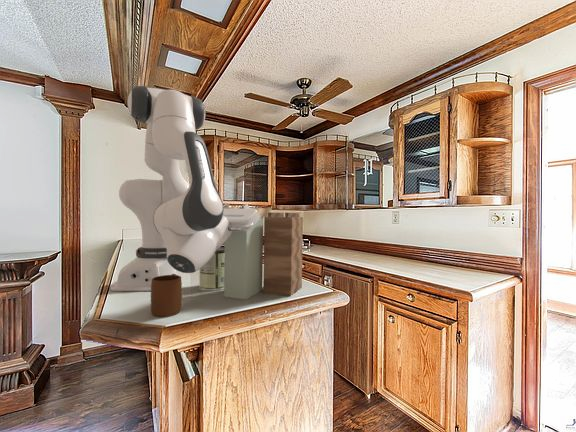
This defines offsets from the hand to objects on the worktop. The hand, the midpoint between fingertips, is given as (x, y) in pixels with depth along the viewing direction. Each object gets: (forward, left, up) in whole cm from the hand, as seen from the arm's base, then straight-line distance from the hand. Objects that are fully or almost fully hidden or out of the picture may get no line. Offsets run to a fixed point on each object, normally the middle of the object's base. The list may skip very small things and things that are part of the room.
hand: (237, 206), depth 90 cm
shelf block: (+3, +4, -29) cm, 30 cm away
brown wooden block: (+17, +5, -29) cm, 34 cm away
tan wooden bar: (+4, +4, -3) cm, 7 cm away
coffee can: (-7, +14, -30) cm, 34 cm away
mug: (-19, -8, -30) cm, 36 cm away
